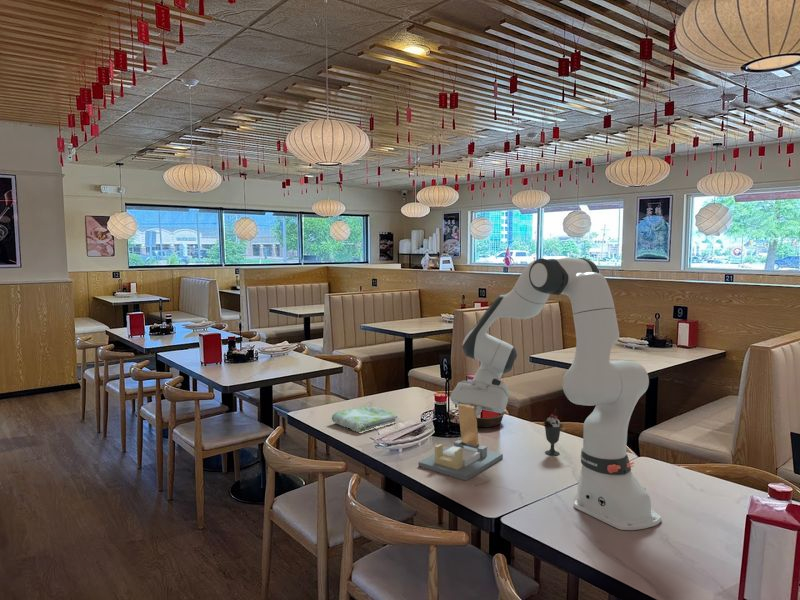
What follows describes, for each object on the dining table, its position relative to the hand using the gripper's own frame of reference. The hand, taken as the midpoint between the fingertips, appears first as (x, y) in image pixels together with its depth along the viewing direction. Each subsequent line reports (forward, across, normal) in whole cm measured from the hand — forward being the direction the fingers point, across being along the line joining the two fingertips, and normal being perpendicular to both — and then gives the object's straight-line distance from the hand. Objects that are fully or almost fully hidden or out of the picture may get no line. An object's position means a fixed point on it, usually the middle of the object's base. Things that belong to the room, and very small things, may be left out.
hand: (469, 418), depth 181 cm
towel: (+6, -53, +14) cm, 55 cm away
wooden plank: (+6, 0, +7) cm, 9 cm away
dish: (-16, -16, +36) cm, 42 cm away
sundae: (-5, +20, +25) cm, 32 cm away
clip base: (+13, 0, +6) cm, 15 cm away
